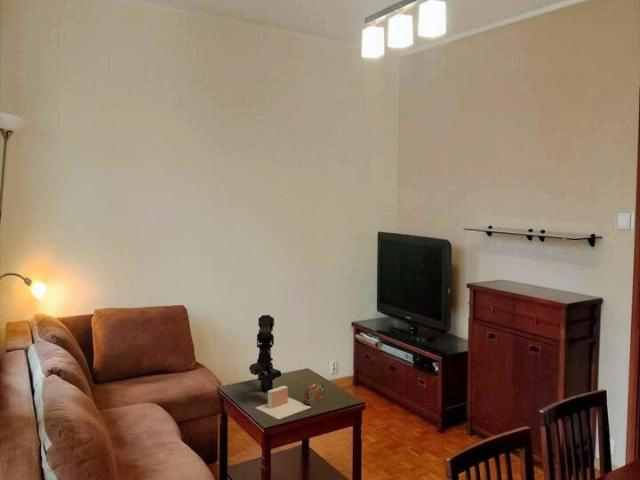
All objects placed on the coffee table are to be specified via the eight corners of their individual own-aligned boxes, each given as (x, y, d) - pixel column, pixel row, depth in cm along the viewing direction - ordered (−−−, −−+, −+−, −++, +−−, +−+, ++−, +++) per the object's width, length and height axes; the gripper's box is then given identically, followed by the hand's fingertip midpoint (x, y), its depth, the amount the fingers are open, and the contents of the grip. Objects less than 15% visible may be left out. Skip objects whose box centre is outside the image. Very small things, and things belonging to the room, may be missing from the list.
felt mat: (255, 408, 255) (255, 407, 255) (287, 397, 268) (287, 396, 268) (278, 420, 241) (278, 419, 241) (311, 407, 255) (311, 407, 255)
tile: (268, 406, 255) (267, 390, 255) (284, 401, 262) (284, 385, 261) (271, 408, 253) (271, 392, 253) (288, 403, 260) (287, 387, 259)
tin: (308, 407, 256) (308, 390, 255) (303, 406, 257) (303, 389, 257) (324, 397, 269) (324, 381, 268) (319, 396, 270) (319, 379, 269)
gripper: (240, 355, 265) (241, 386, 266) (263, 364, 251) (263, 396, 252) (259, 351, 272) (259, 380, 273) (281, 359, 258) (282, 390, 260)
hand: (265, 387), depth 264 cm, fingers closed
